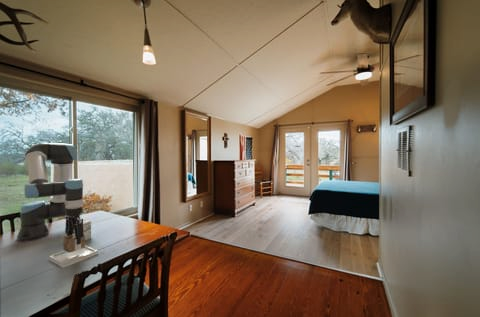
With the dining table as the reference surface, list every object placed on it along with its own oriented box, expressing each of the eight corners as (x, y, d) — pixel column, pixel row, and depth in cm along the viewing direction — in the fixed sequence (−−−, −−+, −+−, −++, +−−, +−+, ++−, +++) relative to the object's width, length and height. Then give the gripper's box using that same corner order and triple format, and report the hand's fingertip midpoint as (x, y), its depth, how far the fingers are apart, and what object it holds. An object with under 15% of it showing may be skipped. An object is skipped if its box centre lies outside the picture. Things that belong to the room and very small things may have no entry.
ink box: (78, 243, 126) (78, 224, 126) (72, 242, 127) (72, 224, 127) (91, 237, 135) (91, 220, 135) (85, 236, 136) (85, 219, 136)
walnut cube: (63, 249, 108) (63, 237, 108) (78, 244, 115) (78, 232, 115) (69, 252, 105) (69, 239, 105) (84, 247, 112) (84, 235, 111)
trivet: (48, 259, 107) (48, 256, 107) (83, 247, 121) (83, 244, 121) (63, 267, 99) (63, 264, 99) (98, 253, 114) (98, 250, 114)
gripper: (57, 206, 111) (57, 246, 111) (75, 211, 102) (75, 255, 102) (73, 203, 117) (73, 241, 118) (91, 208, 108) (91, 249, 109)
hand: (74, 248), depth 110 cm, fingers closed on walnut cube, 7 cm apart
